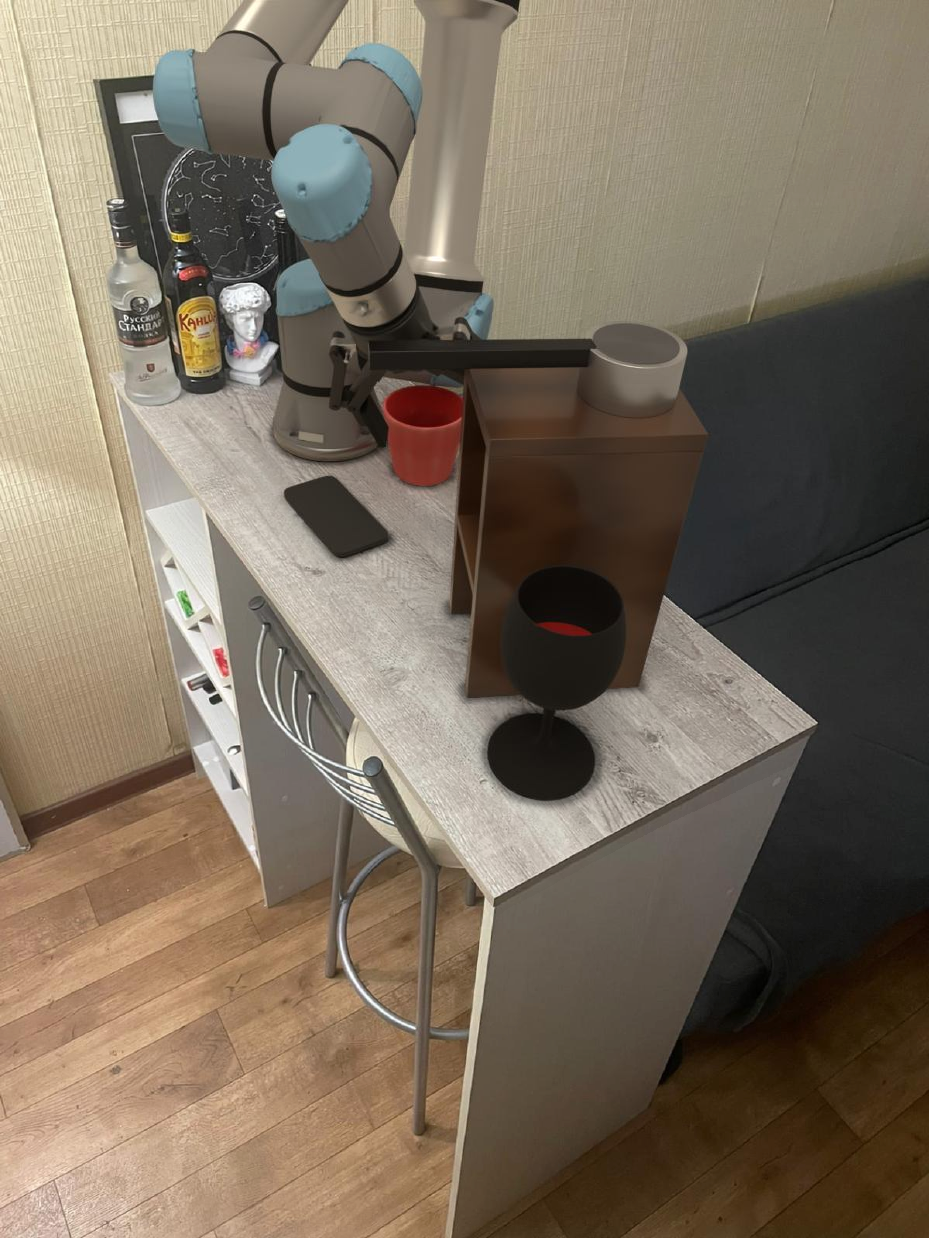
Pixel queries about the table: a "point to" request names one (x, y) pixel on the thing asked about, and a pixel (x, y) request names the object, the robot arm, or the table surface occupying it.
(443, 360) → the pan
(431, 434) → the flower pot
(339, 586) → the table surface
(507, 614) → the wine glass
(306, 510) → the phone
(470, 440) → the shelf
